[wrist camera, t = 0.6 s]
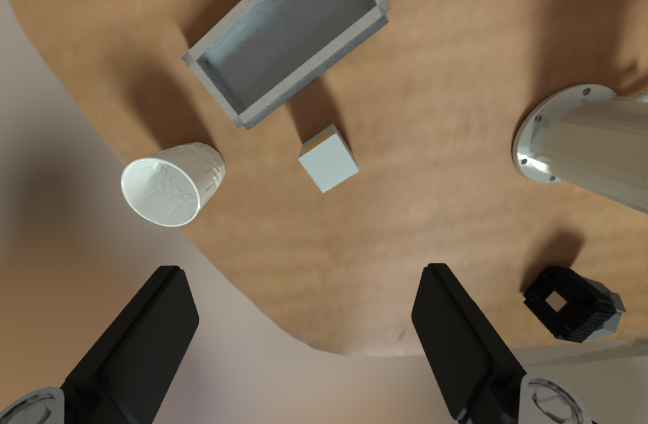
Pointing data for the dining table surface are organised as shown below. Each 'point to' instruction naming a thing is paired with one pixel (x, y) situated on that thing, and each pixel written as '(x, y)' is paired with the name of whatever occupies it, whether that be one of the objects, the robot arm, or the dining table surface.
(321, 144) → the block
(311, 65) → the rail
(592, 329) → the cpu cooler
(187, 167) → the white cup
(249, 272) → the dining table surface
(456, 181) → the dining table surface
